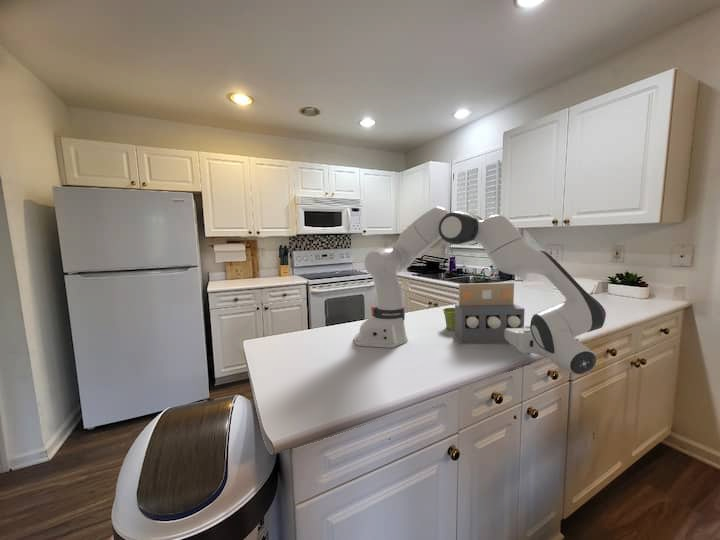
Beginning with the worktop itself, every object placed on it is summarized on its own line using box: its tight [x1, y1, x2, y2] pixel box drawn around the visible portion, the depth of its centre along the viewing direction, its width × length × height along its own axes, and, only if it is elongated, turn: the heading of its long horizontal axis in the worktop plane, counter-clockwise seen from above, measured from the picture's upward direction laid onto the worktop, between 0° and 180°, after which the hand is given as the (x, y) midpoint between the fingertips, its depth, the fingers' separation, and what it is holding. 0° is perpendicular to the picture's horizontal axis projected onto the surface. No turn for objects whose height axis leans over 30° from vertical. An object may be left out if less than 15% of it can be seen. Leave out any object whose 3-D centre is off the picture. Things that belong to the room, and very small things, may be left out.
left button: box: [465, 315, 479, 328], centre depth 117 cm, size 4×4×4 cm
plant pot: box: [442, 307, 455, 331], centre depth 137 cm, size 9×9×9 cm
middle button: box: [486, 315, 501, 329], centre depth 116 cm, size 4×4×4 cm
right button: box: [507, 315, 520, 327], centre depth 117 cm, size 4×4×4 cm
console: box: [454, 282, 525, 345], centre depth 121 cm, size 24×10×23 cm, turn 88°
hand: (525, 328), depth 107 cm, fingers closed
